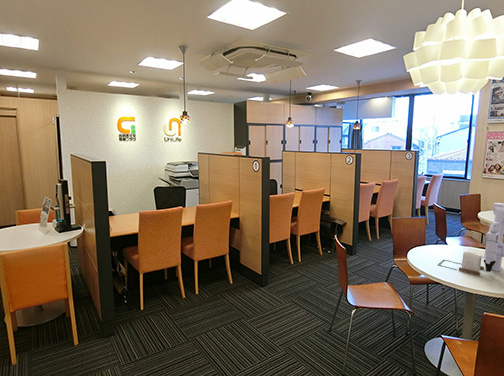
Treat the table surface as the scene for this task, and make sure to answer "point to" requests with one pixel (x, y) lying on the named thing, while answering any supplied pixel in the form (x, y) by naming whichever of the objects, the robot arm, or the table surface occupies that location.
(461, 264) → the charcoal frame
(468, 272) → the walnut rails
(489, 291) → the table surface
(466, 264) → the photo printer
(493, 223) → the robot arm
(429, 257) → the table surface
